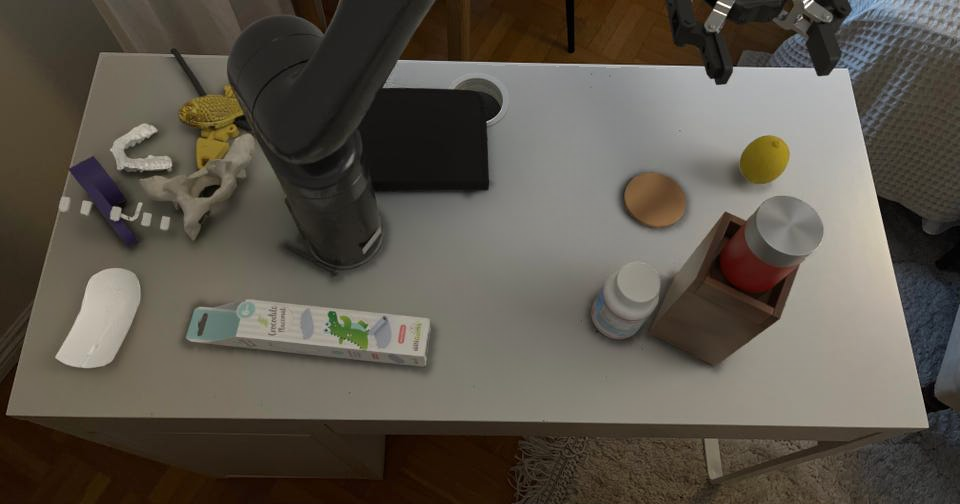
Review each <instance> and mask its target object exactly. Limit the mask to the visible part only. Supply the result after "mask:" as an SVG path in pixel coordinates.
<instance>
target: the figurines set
mask: <svg viewBox="0 0 960 504" xmlns="http://www.w3.org/2000/svg"><path fill="white" fill-rule="evenodd" d="M58 202H59V204H58V210H59V211H60V212H62V213H66V212H68V214H69V215H71V213H70V207H71V205H72V199H71V197H68V196H64V195H63V196H62V195H61V197H60V200H59V201H58ZM143 204H144V203H143V202H140V201H139V202H138V203H137V206H136V208H135V212H134V215H133V216H132V217H131V216H128V215H126V214H124V213H122V207H120V206H113V208H112V211H111V212H110V215H111V216H110V219H111V220H114V221H119V219H120V218H121V219H124V220H127V221H130V222H134V221H135V220H136V219H138V218H139V216H140V212H141V209H142V206H143ZM93 206H94V202H93V201H92V200H91V201H89V200H82V202H81V207H80V211H79V214H81V215H83V217H89V216H90V215H91V211H92V208H93ZM152 218H153V214H152V213H150V212H145V211H144V212H143V213H142V219H141V222H140V225H141V226H143V227H145V228H146V227H150V226H151V221H152ZM170 224H171V216H165V215H162V217H161V220H160V225H159V229H160V230H162V231H168V230H169V227H170Z"/></svg>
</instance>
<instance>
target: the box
mask: <svg viewBox="0 0 960 504" xmlns="http://www.w3.org/2000/svg"><path fill="white" fill-rule="evenodd" d="M205 314H207V318H206V321H205V324H204V329H203V331H202V334H201V335H198V333H199V330H200V328H199V325H198V324H199V323H200V322H201V321H203V317H204V315H205ZM430 323H431V321H430V318H428V317H418V316H409V315H400V314H391V313H390V314H389V313H380V312H372V311H362V310H353V309H343V308H333V307H323V306H315V305H306V304H305V305H304V304H296V303H287V302H286V303H285V302H277V301H268V300H259V299H250V298H245V299H241V300H237V301H234V302H229V303H226V304H222V305H221V304H220V305H217V306H214V307H211V306H210V307H208V306H198V307H196V308H194V310H193V313H192V317H191V319H190V323H189V326H188V328H187V329H188V330H187V332H186V336H185V339H186V340H188V341H189V342H192V343H198V344H199V343H200V344H206V345H215V346H216V345H217V346H226V347H234V348H242V349H243V348H244V349H254V350H262V351H273V352H282V353H291V354H301V355H307V356H308V355H310V356H320V357H328V358H338V359H345V360H346V359H347V360H357V361H365V362H375V363H385V364H394V365H402V366H413V367H421V368H425V367H426V366H427V359H428V352H429V346H430V339H431V331H432V329H431V324H430Z"/></svg>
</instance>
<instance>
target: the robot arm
mask: <svg viewBox="0 0 960 504" xmlns="http://www.w3.org/2000/svg"><path fill="white" fill-rule="evenodd" d="M693 1H694V0H665V5H666V6H665V7H666V11H667V17H668V20H669V27H670V32H671V36H672V37H671V38H672V42H673V44H674V45H675V46H676V47H678V48H684V47H686V46H687V45H690V46H694V47H695V48H696V49H697V50H698V51H699V52H700V56H701V60H702V63H703V67H704V70H705V73H706V76H707V77H708V78H709V80H714V83H715V85H716V86H722V85H724V86H725V85H727V84H728V82H729V80H730V78H731V76H732V74H733V72H734V64H733V61H732V58H731V54H730V51H729V48H728V45H727V42H726V38H725V35H724V32H721V31H722V29H723V27H724V26H725V24H726V22H727V21H728V22H731V23H734V25H735V26H740V25H747V24H749V23H759V24H764V23H765V24H766V23H771V22H773V23H775V24H776V25H777V26H779V27H780V28H782V29H783V30H784V31H790V30H792V31H794V32H796V33H797V34H798V35H800V36H801V37H803V38H804V39H806V42H805V47H806V49H807V52H808V54H809V58H810V61H811V63H812V65H813V68H814V71H815V73H816V76H817V77H827V76H830V74H831V73H832V72H833V70H834V69H835V68H836V66H837V65H838V64H839V61H840V59H842V54H843V53H842V50H841V47H840V44H839V43H838V40H837V37H836V34H837V32H838V31H839V30H840V29H841V28H840V27H841V26H842V25H843V23H844V22H845V20H846V19H847V18H848V17H849V16H850V14H851V13H852V11H853V8H852V6H851V4H850V1H849V0H791V1H792V3H793V6H792V8H791V10H790V11H789V12H788V11H787V10H785V7H786V5H787V3H788V1H789V0H700V1H701V2H702V3H704V4H705V5H707V6H708V7H709V8H710V9H712V11H711V12H710V14H709V15H708V17H707V19H706V20H705V22H700V21H696V15H695V11H694V5H693ZM435 2H437V0H339V1H338V4H337V7H336V10H335V12H334V14H333V17H332V18H331V21H330V22H329V24H328V26H327V29H326V30H325V32H324V33H323V32H322V30H321V29H320V28H319V27H317V26H316V25H315V24H314V23H312V22H311V21H309V20H308V19H305V18H303V17H301V16H297V15H292V14H272V15H269V16H268V15H267V16H265V17H262V18H260V19H258V20H255V21H253V22H252V23H251V24H249V25H247V26H246V27H245V29H243V30H242V31H241V32H240V33H239V35H238V36H237V38H236V39H235V40H234V42H233V43H232V45H231V47H230V51H229V53H228V56H227V62H226V75H227V79H228V83H229V84H230V86H231V89H232V91H233V93H234V95H235V97H236V99H237V101H238V103H239V105H240V107H241V109H242V111H243V113H244V115H245V117H246V118H245V120H246V121H245V120H241V119H239V120H237V121H235V122H233V124H234V125H235V126H237V127H239V128H240V127H241V128H243V129H245V130H248V131H250V132H251V133H253V137H254V139H255V140H256V142H257V143H258V145H259V147H260V149H261V151H262V153H263V155H264V156H265V158H266V160H267V161H268V164H269V165H270V167H271V169H272V171H273V172H274V175H275V177H276V179H277V181H278V183H279V185H280V187H281V189H282V191H283V193H284V195H285V198H284V204H285V206H286V208H287V210H288V212H289V215H290V216H291V219H292V220H293V222H294V224H295V226H296V229H297V231H298V233H299V234H300V237H301V239H302V240H304V241H306V242H307V246H308V248H309V250H310V253H311V254H312V256H313V257H314V258H315V259H316V261H317V262H319V263H320V264H322V265H324V266H326V267H328V268H330V269H337V270H351V269H355V268H358V267H360V266H363V265H365V264H366V263H368V262H369V261H371V260H372V259H373V258H374V257H375V256H376V255H377V253H378V252H379V250H380V248H381V246H382V245H383V242H384V235H385V232H384V225H383V221H382V219H381V217H380V211H379V210H380V209H379V207H378V202H377V199H376V194H375V191H374V188H373V184H372V180H371V175H370V171H369V167H368V162H367V158H366V154H365V150H364V145H363V141H362V137H361V134H360V132H359V129H358V128H359V126H360V125H361V123H362V122H363V120H364V119H365V117H366V116H367V114H368V112H369V111H370V109H371V107H372V106H373V104H374V102H375V100H376V99H377V97H378V95H379V93H380V92H381V90H382V88H384V86H385V85H386V83H387V80H388V79H389V77H390V76H391V74H392V72H393V71H394V68H395V66H396V65H397V63H398V62H399V60H400V58H401V56H402V54H403V52H405V49H406V47H407V46H408V45H409V42H410V41H411V39H412V37H413V36H414V34H415V33H416V31H417V30H418V28H419V26H420V25H421V24H422V22H423V21H424V20H425V17H426V16H427V15H428V13H429V11H430V10H431V9H432V7H433V5H434V4H435ZM803 15H805V16H806V17H808V18H809V19H811V20H812V22H809V21H808V20H807V19H806V18H804V16H803ZM170 53H171V54H172V55H173V56H174V58H175V59H176V61H177V62H178V64H179V65H180V67H181V69H182V70H183V72H184V73H185V75H186V76H187V78H188V79H189V81H191V83H192V85H193V87H194V88H195V90H196V91H197V93H198V95H199V97H202V96H206V95H208V94H207V93H206V91H205V90H204V88H203V86H202V85H201V83H200V81H199V80H198V78H197V76H195V74H194V73H193V71H192V70H191V68H190V66H189V65H188V64H187V62H186V60H185V59H184V57H183V55H182V54H181V53H180V52H179V50H178V49H177V48H174V47H172V48H171V49H170Z"/></svg>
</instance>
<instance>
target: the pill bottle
mask: <svg viewBox="0 0 960 504" xmlns="http://www.w3.org/2000/svg"><path fill="white" fill-rule="evenodd" d="M660 290H661V278H660V276H659V273H658V272H657V270H655V268H654V267H653V266H651V265H650V264H648V263H646V262H644V261H630V262H627V263H626V264H624V265H623V266H622V267H619V268H617V269H615V270H614V271H612V272H611V273H610V274H609V275H608V276H607V278H606V280H605V281H604V283H603V285H602V287H601V289H600V290H599V292H598V294H597V296H596V297H595V300H594V301H593V304H592V307H591V311H590V312H591V319H592V323H593V325H594V326H595V328H596V329H597V330H598V331H599V332H600V333H601V334H603V335H604V336H605V337H608V338H610V339H614V340H624V339H629V338H631V337H633V336H634V335H635V334H636V333H637V332H638V331H639V330H640V329H641V327H642V326H643V325H644V324H645V322H646V321H647V320H648V318H649V317H650V316H651V315H652V313H653V312H654V311H655V309H656V308H657V306H658V304H659V301H660Z"/></svg>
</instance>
